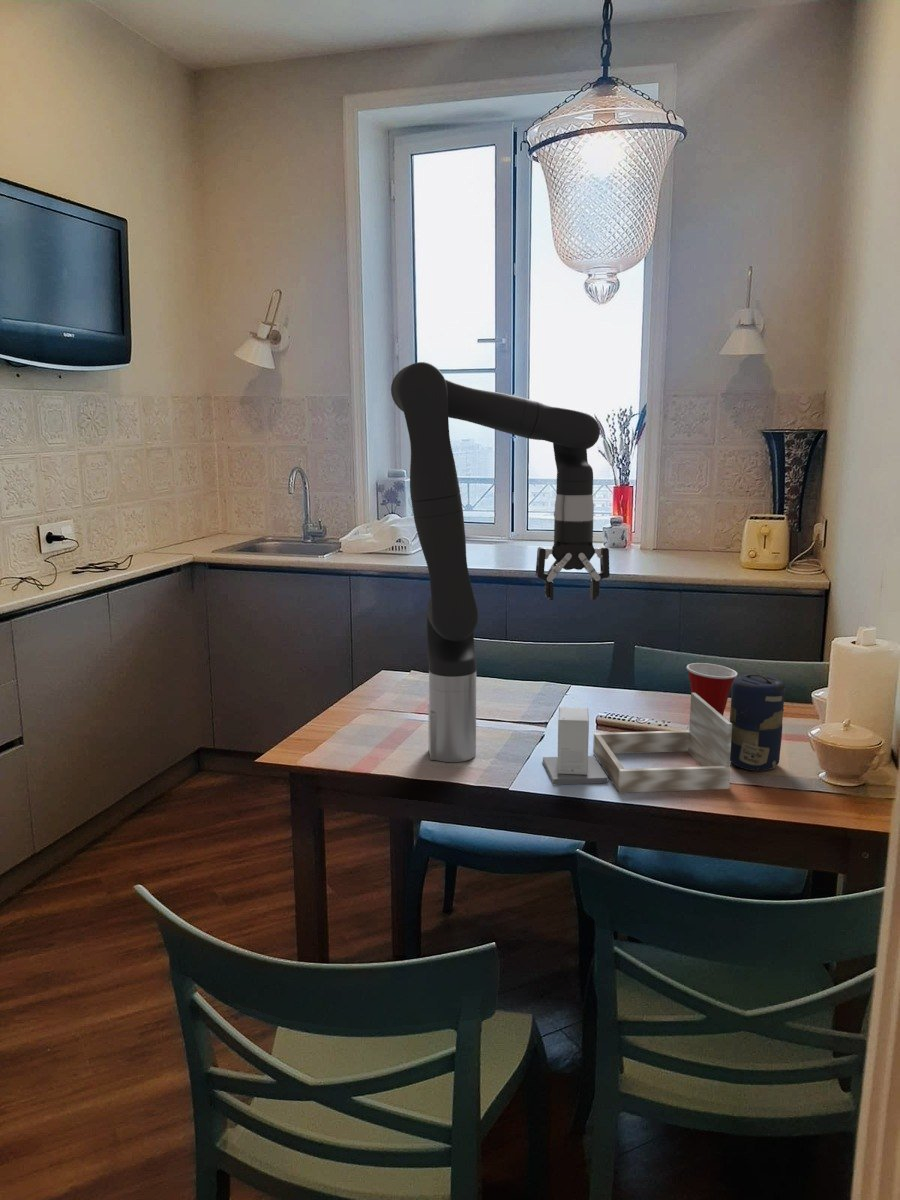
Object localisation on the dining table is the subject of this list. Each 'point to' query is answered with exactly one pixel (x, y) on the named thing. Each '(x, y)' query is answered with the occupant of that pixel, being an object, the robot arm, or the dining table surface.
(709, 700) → the plastic cup
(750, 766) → the canister
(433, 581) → the robot arm
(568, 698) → the dining table surface
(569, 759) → the small box
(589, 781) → the slate tile
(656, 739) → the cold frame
